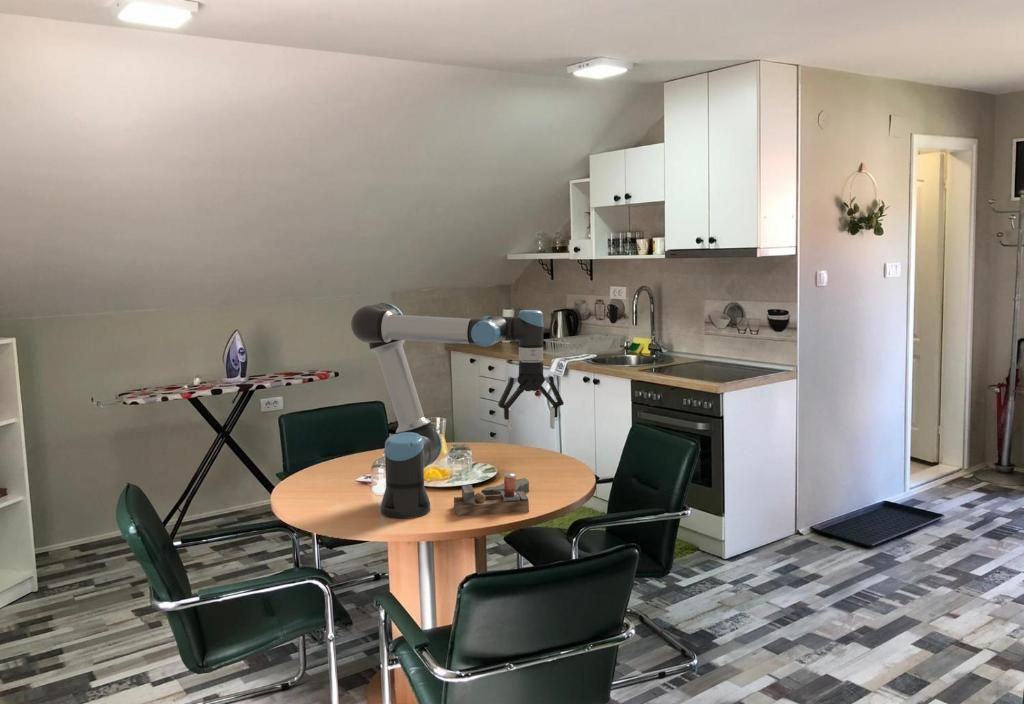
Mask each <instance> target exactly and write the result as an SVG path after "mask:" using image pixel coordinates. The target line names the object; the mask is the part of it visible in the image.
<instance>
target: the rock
mask: <svg viewBox="0 0 1024 704" xmlns="http://www.w3.org/2000/svg"><path fill="white" fill-rule="evenodd" d="M529 482H530V481H529V480H528V478H525V477H524V478H518V479H517V478H516V491H517V492H521V491H524V493H525V494H527V493H529V492H530V483H529ZM503 491H504V483H502V484H500V485H494V486H488V487H485V488H483V489H481V493H483V494H484V495H500V492H503Z"/></svg>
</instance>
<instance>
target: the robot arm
mask: <svg viewBox="0 0 1024 704" xmlns="http://www.w3.org/2000/svg"><path fill="white" fill-rule="evenodd" d="M350 326H351V330H352V334H353V335H354V336H355V337H356V338H357V340H359V341H361V342H363V343H367V344H368V346H369V348H370V351H371V352H372V353H374V354H376V356H377V360H378V362H379V365H380V368H381V373H382V375H383V379H384V382H385V385H386V387H387V392H388V394H389V398H390V400H391V404H392V407H393V411H394V414H395V417H396V420H397V423H398V426H397V428H396V430H395V433H394V434H392V435H389V436H388V437H387V439H386V440H385V441H384V442H385V443H384V467H385V468H384V469H385V490H384V493H383V496H382V500H381V504H380V514H381V515H382V516H385V517H388V518H392V519H410V518H417V517H422V516H424V515H427V514H428V513H430V512H431V501H430V499H429V496H428V493H427V490H426V487H425V472H424V471H425V468H427V466H430V465H432V464H433V463H434V462H436V461H437V459H438V458H439V456H440V455H441V452H442V449H443V439H442V437H441V434H440V433H439V432H438V431H437V430H435V429H434V427H433V425H432V422H431V420H430V419H428V418H426V417H425V415H424V411H423V408H422V404H421V401H420V398H419V394H418V391H417V389H416V385H415V382H414V379H413V378H414V377H413V376H412V373H411V369H410V366H409V365H410V364H409V363H408V359H407V356H406V353H405V350H404V345H405V342H406V341H413V342H415V341H416V342H429V343H430V342H432V343H448V344H449V343H450V344H463V345H464V344H465V345H467V344H468V345H477V346H479V347H491V346H493V345H495V344H496V343H497V344H498V343H499V342H518V360H520V361H519V362H518V376H517V377H513V376H509V377H508V380H507V384H506V386H505V389H504V391H503V393H502V394H501V397H500V398H499V401H498V403H497V406H498V407H499V408H502V409H503V418H504V420H505V421H506V420H507V421H506V422H507V423H506V425H507V428H506V429H507V431H508V432H511V431H512V408H511V406H512V405H514V403H515V401H516V400H517V399H519V397H520V396H521V395H522V393H523V392H531V391H532V392H537V391H540V392H541V394H542V395H543V397H545V398H546V400H547V401H548V402H549V403H550V404H551V406H549V428H550V429H551V430H552V429H553V430H554V429H555V426H556V423H555V419H556V418H557V419H558V416H559V415H558V414H559V411H558V409H559V407H561V406H563V405H564V404H565V403H564V401H563V398H562V397H561V394H560V392H559V390H558V388H557V387H556V384H555V380H554V376H552V375H549V374H548V375H547V376H544V362H543V361H542V360H544V327H545V325H544V314H543V312H542V311H541V310H536V309H528V310H527V309H523V310H520V311H519V312H518V315H517V316H499V315H497V316H495V315H488V316H485V315H484V316H482V318H466V317H465V318H464V317H445V316H444V317H443V316H427V315H426V316H425V315H410V314H403V312H402V311H401V310H400V309H399V308H398V307H397V306H396V305H394V304H392V303H385V302H380V303H375V304H371V305H364V306H361V307H360V308H358V309H357V310H356V311H355V312H354V314H353V315H352V316H351V320H350ZM544 382H546V384H548V385H549V387H550V390H551V391H552V394H553V395H554V398H555V399H554V398H553V397H552V396H551V395H550V393H549V392H548V391H547V390H546V389H545V388H544V386H543V384H544ZM516 383H518V384H519V385H518V386H517V388H516V390H515V391H514V392H513V393H512V395H511V396H510V397H509V395H510V392H511V391H512V389H513V387H514V385H516ZM508 397H509V399H508Z"/></svg>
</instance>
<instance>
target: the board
mask: <svg viewBox="0 0 1024 704" xmlns="http://www.w3.org/2000/svg"><path fill="white" fill-rule="evenodd" d="M517 493H518V495H519V496H520V501H519V502H502V500H501V498H500V495H485V501H484V503H482V504H477V503H476V502H475V494H476V493H475V490H474V488H473V485H472V484H466V485H465V484H464V485H461V496H453V508H454V511H455V515H456V517H468V516H469V517H470V516H471V517H472V516H485V515H501V514H519V513H521V512H522V513H530V505H529V504H530V503H529V502H530V501H529V497H528V496H527V493H524V491H521V492H517ZM522 513H521V514H522Z"/></svg>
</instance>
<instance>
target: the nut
mask: <svg viewBox="0 0 1024 704" xmlns="http://www.w3.org/2000/svg"><path fill="white" fill-rule="evenodd" d="M484 501H485V495H484V494H483V493H481V492H480V491H479V492H476V493H475V502H476V503H477V504H482V503H484Z"/></svg>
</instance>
